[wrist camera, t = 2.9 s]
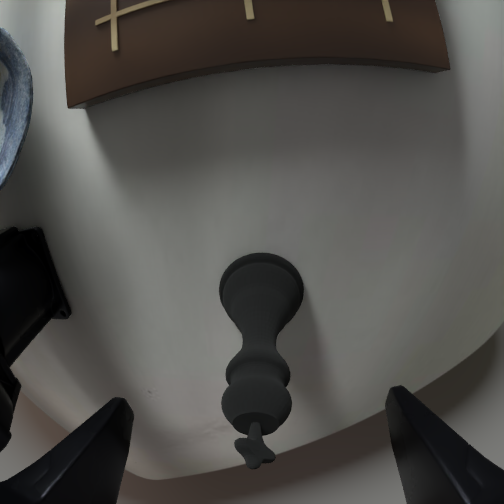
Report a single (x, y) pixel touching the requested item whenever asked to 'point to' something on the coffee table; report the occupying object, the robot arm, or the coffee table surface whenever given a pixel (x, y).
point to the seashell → (13, 103)
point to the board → (238, 39)
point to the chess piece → (259, 348)
